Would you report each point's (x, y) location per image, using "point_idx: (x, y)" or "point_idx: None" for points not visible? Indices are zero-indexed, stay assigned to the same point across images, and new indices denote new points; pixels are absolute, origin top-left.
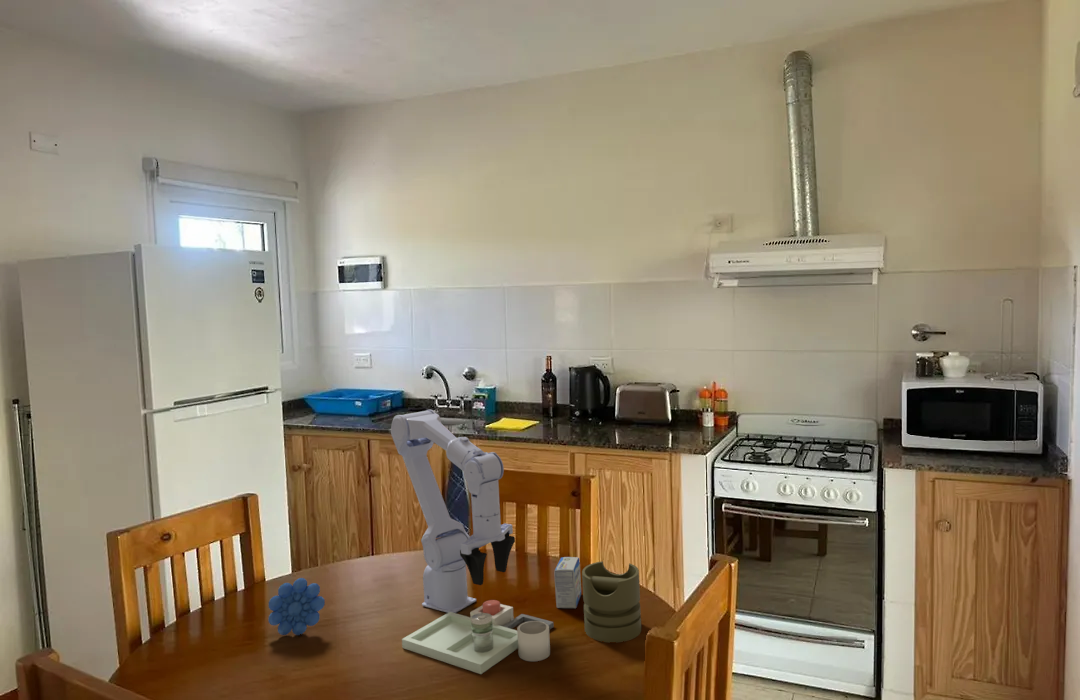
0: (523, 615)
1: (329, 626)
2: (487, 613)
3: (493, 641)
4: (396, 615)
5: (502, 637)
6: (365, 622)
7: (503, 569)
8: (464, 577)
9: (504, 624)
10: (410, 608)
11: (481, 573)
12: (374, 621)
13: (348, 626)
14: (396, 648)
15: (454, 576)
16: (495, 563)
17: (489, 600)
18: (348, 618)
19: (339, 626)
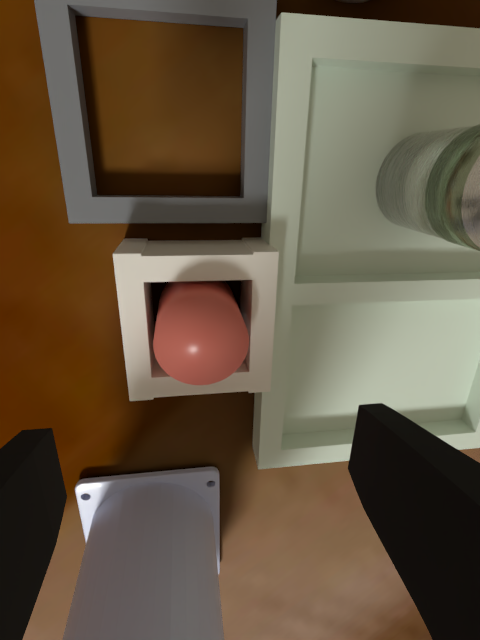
0: (80, 202)
1: (413, 620)
2: (478, 192)
3: (358, 175)
4: (300, 570)
5: (310, 161)
6: (367, 589)
7: (43, 451)
8: (117, 598)
9: (192, 242)
10: (245, 577)
11: (468, 465)
12: (354, 580)
13: (399, 597)
14: None
15: (184, 624)
16: (45, 566)
17: (175, 376)
18: (363, 625)
19: (406, 608)
